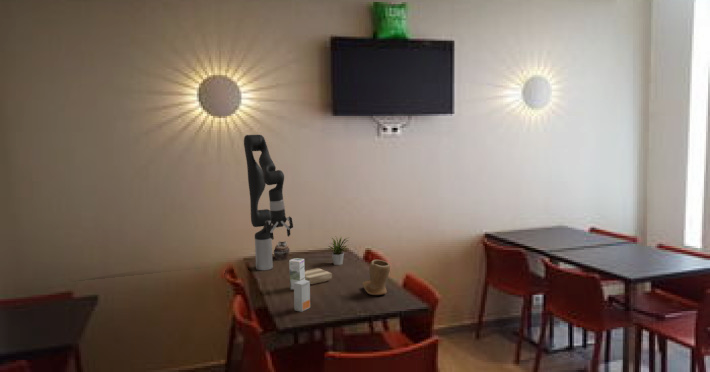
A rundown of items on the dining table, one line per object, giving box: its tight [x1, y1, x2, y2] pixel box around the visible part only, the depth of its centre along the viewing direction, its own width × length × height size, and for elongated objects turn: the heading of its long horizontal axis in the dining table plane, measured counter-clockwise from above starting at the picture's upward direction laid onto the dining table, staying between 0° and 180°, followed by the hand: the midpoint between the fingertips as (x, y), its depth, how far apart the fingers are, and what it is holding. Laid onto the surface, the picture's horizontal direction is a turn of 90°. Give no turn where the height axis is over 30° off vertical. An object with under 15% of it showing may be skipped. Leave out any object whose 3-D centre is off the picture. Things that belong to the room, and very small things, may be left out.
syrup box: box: [288, 257, 306, 291], centre depth 237 cm, size 6×6×14 cm
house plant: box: [328, 235, 350, 266], centre depth 280 cm, size 14×14×16 cm
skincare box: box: [293, 280, 311, 313], centre depth 209 cm, size 6×4×12 cm
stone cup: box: [362, 259, 391, 296], centre depth 230 cm, size 15×12×15 cm
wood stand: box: [305, 267, 333, 286], centre depth 250 cm, size 13×13×4 cm
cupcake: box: [273, 241, 290, 261], centre depth 297 cm, size 10×10×10 cm
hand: (280, 237), depth 260 cm, fingers open, 8 cm apart
